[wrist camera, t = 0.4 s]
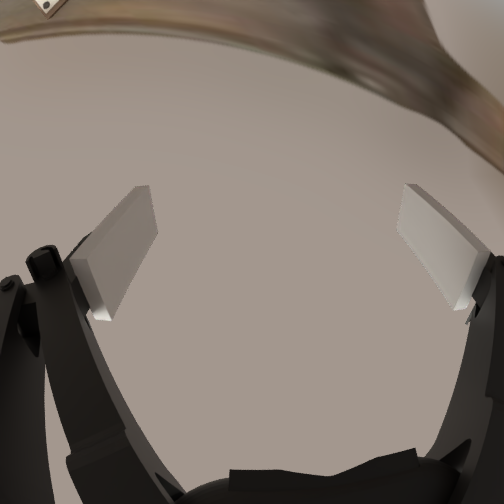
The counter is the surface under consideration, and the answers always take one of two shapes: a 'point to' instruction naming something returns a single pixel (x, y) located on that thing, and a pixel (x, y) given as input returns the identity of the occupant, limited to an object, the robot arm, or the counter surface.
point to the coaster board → (49, 6)
